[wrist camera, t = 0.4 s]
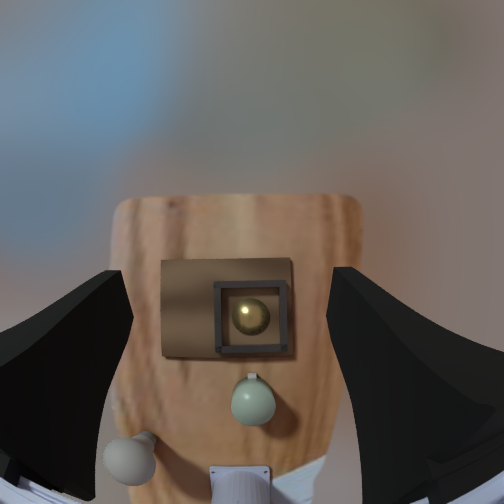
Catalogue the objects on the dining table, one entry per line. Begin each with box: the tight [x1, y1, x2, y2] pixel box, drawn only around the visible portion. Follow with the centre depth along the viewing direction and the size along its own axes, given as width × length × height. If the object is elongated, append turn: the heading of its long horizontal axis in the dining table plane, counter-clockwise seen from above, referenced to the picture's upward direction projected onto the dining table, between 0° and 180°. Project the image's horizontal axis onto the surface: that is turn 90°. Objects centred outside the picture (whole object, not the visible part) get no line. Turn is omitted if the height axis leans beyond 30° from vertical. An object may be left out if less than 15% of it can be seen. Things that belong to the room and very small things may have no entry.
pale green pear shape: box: [231, 373, 276, 426], centre depth 31 cm, size 6×5×5 cm
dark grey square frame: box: [214, 280, 288, 353], centre depth 34 cm, size 8×8×1 cm
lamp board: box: [161, 258, 293, 358], centre depth 35 cm, size 12×16×1 cm
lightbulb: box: [103, 431, 156, 486], centre depth 26 cm, size 6×6×11 cm
